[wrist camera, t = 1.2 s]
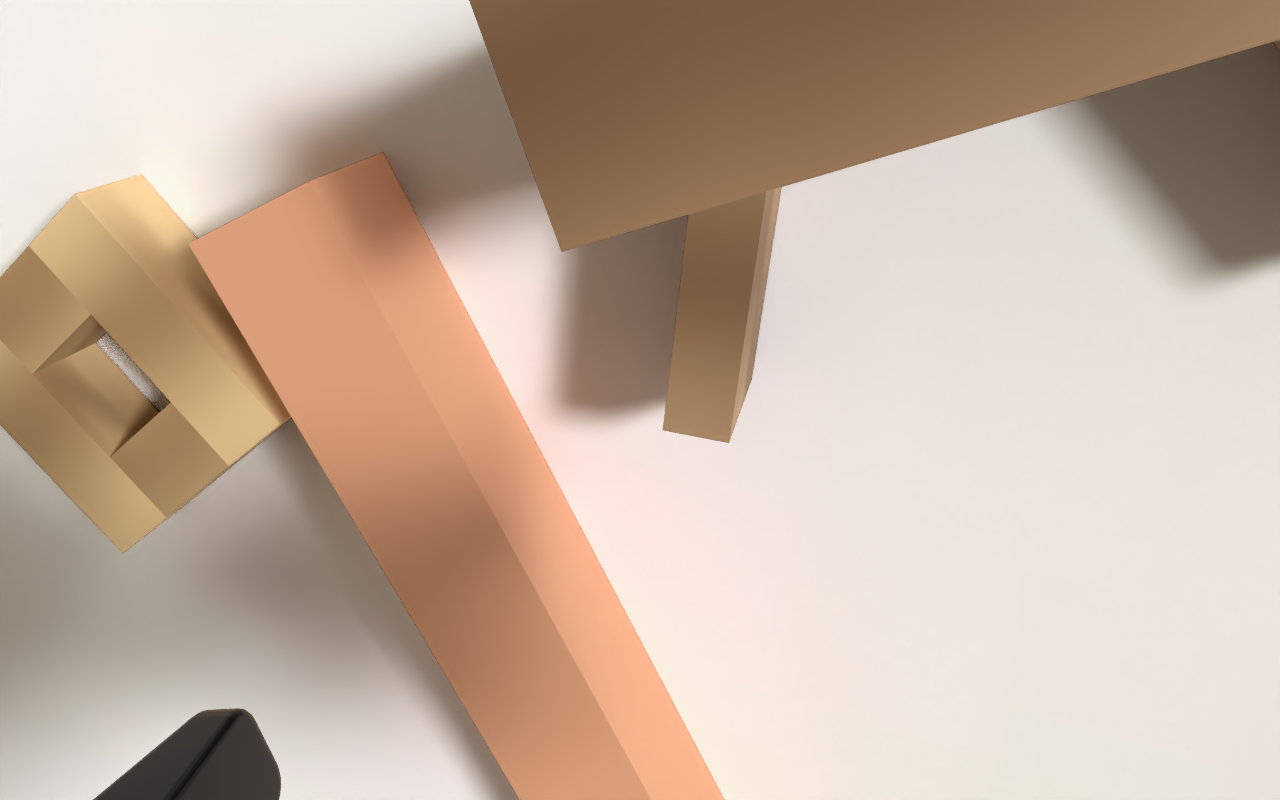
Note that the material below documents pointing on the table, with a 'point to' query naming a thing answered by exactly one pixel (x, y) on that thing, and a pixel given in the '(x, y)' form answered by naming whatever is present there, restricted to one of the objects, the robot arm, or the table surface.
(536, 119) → the brown angular blocky piece
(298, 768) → the table surface
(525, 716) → the salmon orange bar
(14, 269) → the bead
